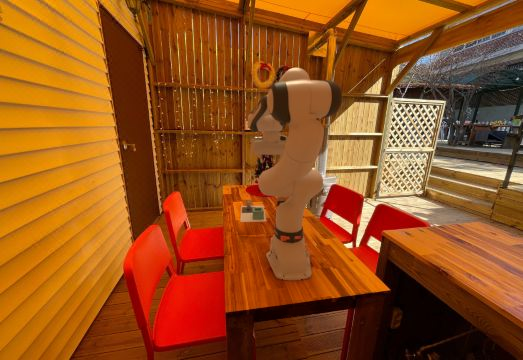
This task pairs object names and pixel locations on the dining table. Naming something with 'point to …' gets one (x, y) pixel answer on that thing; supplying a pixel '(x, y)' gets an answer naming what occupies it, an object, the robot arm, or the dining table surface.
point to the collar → (258, 213)
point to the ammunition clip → (281, 199)
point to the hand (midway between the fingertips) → (270, 162)
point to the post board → (249, 213)
